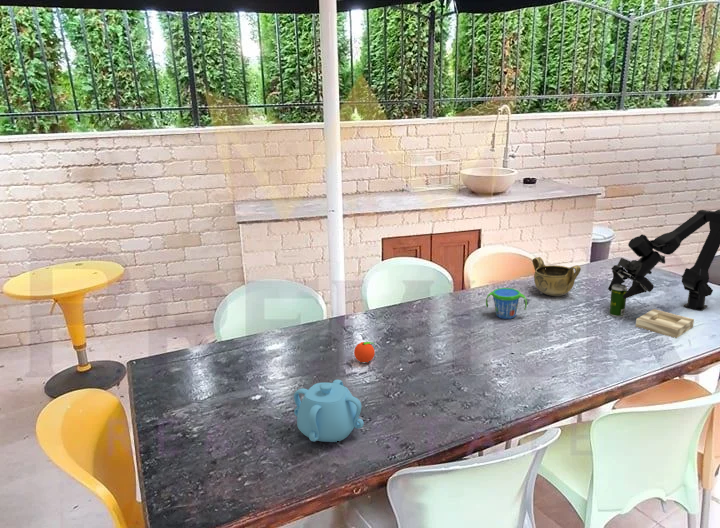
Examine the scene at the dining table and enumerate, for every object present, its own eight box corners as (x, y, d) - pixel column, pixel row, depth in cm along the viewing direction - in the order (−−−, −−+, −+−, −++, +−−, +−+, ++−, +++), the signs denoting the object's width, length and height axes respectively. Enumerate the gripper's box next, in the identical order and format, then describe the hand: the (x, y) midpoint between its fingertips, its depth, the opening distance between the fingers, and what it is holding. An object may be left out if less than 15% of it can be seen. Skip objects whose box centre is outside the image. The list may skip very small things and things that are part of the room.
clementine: (373, 354, 179) (372, 336, 177) (381, 363, 173) (380, 343, 171) (351, 359, 177) (350, 340, 175) (358, 368, 170) (357, 348, 168)
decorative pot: (304, 455, 128) (300, 407, 124) (293, 420, 143) (289, 376, 139) (367, 441, 133) (364, 394, 129) (349, 408, 148) (347, 365, 144)
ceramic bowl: (588, 296, 223) (590, 262, 219) (563, 305, 214) (565, 271, 210) (544, 283, 241) (546, 252, 237) (520, 291, 232) (521, 259, 228)
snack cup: (482, 318, 206) (483, 294, 203) (489, 309, 215) (489, 285, 212) (523, 323, 199) (524, 298, 196) (528, 314, 208) (529, 290, 205)
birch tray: (652, 317, 200) (653, 309, 199) (692, 328, 189) (694, 319, 188) (635, 327, 191) (636, 318, 190) (676, 339, 181) (677, 330, 180)
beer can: (626, 314, 202) (629, 285, 199) (620, 318, 199) (623, 289, 195) (613, 311, 206) (615, 282, 203) (606, 315, 203) (609, 286, 200)
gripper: (618, 245, 205) (589, 274, 206) (649, 257, 187) (618, 289, 189) (634, 262, 208) (606, 290, 210) (667, 276, 190) (636, 307, 192)
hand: (615, 293), depth 200 cm, fingers open, 9 cm apart
